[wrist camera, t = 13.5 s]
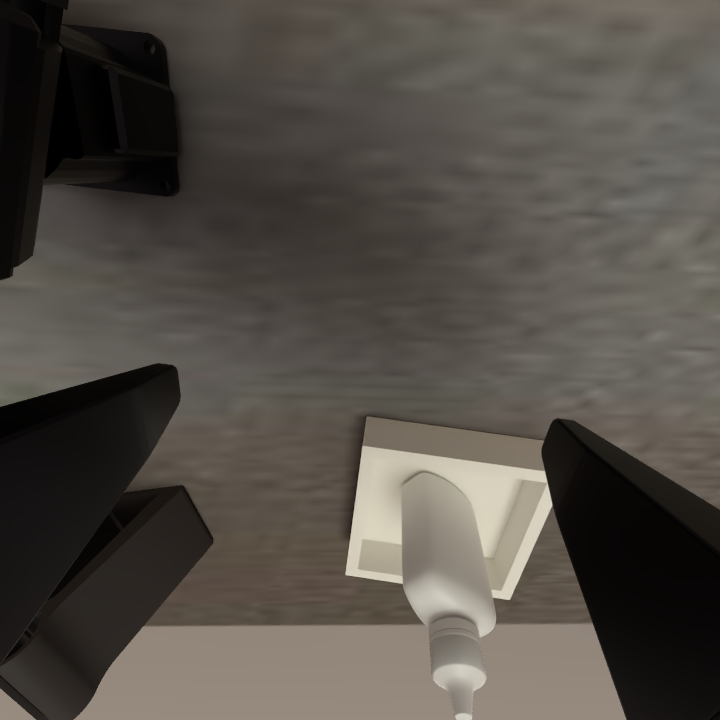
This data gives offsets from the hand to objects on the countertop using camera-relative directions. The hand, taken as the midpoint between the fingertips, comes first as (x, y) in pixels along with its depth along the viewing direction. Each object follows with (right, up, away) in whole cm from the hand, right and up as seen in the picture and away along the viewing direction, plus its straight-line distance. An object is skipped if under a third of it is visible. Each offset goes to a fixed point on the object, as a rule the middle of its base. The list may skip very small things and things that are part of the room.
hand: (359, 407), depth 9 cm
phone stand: (-17, -12, +22) cm, 30 cm away
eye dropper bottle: (+5, -8, +18) cm, 20 cm away
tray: (+6, -8, +18) cm, 21 cm away
